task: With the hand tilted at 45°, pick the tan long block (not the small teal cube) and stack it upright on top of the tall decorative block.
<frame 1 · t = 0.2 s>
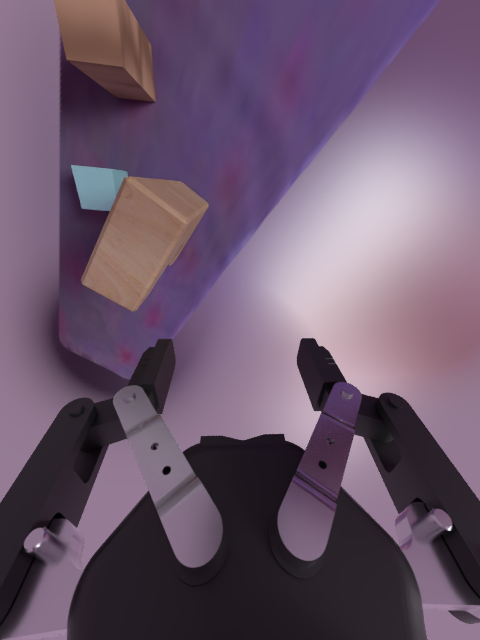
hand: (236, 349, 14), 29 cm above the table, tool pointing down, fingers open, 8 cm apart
decorative block: (177, 222, 37), on the table
teal cube: (113, 189, 34), on the table
tan long block: (132, 72, 28), on the table
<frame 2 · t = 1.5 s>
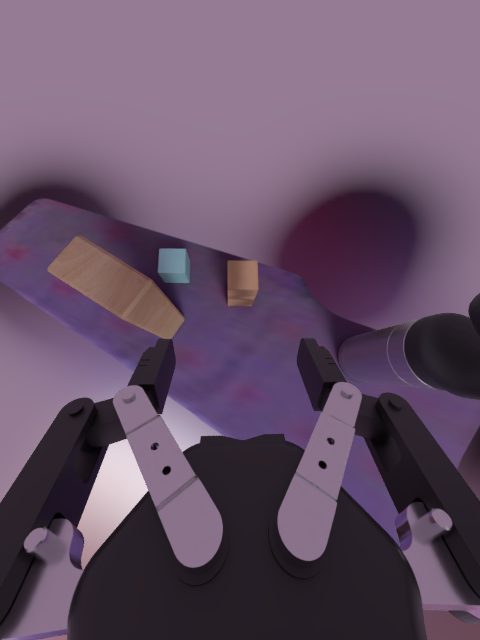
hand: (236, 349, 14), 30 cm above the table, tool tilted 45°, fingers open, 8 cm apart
decorative block: (155, 315, 45), on the table
teal cube: (177, 271, 47), on the table
tan long block: (239, 294, 46), on the table
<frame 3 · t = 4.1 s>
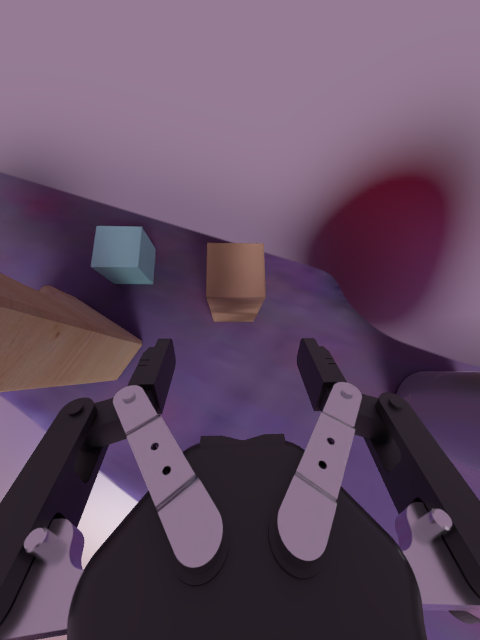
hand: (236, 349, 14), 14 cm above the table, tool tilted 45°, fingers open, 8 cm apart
decorative block: (95, 337, 27), on the table
teal cube: (135, 266, 30), on the table
tan long block: (233, 302, 29), on the table
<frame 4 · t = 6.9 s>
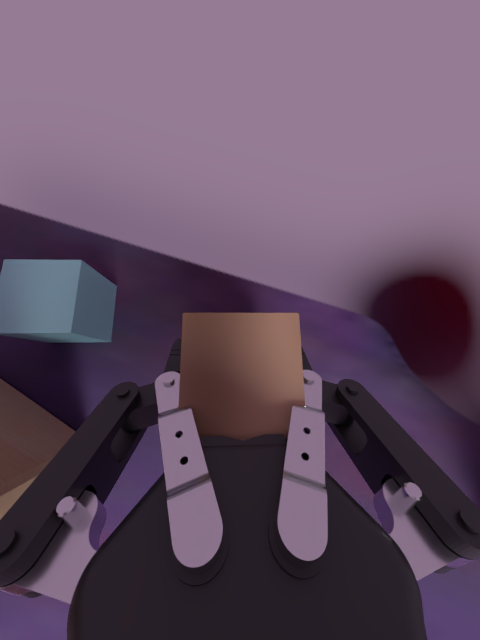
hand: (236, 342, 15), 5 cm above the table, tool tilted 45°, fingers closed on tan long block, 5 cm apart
decorative block: (15, 433, 17), on the table
teal cube: (84, 313, 19), on the table
tan long block: (235, 370, 19), on the table, touching gripper
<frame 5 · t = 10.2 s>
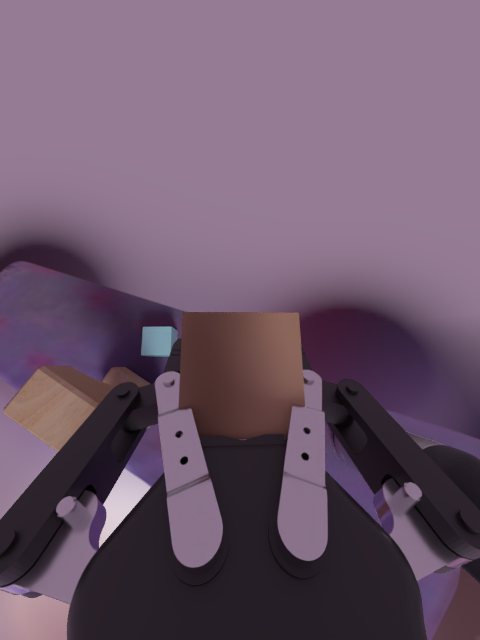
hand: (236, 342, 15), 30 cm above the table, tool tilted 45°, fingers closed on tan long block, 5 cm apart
decorative block: (139, 394, 42), on the table
teal cube: (164, 343, 44), on the table
tan long block: (235, 370, 19), point 25 cm above the table, touching gripper
when the fingers open (27 cm above the table, at t = 13.9 s): tan long block drops 2 cm, resting on decorative block.
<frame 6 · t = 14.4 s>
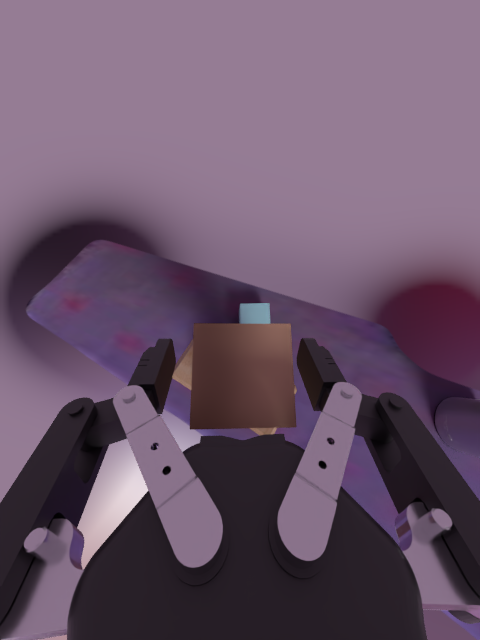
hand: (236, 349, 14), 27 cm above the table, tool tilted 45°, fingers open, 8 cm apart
decorative block: (231, 375, 40), on the table, touching tan long block
teal cube: (252, 323, 42), on the table
tan long block: (236, 371, 21), point 20 cm above the table, touching decorative block
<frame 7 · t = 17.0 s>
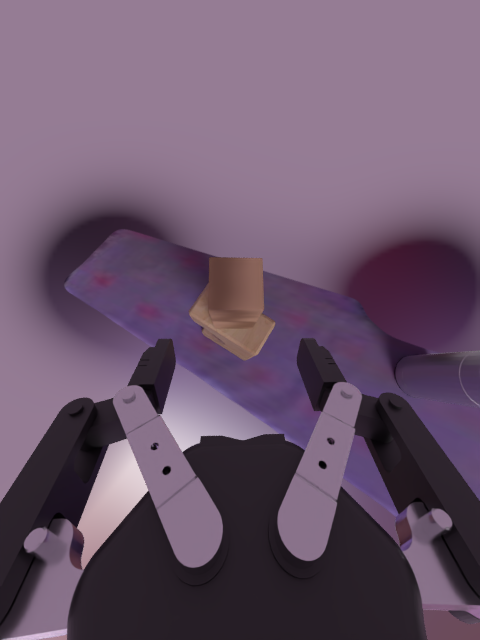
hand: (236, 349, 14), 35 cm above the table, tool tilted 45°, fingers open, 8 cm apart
decorative block: (230, 337, 50), on the table, touching tan long block
tan long block: (233, 310, 30), point 20 cm above the table, touching decorative block
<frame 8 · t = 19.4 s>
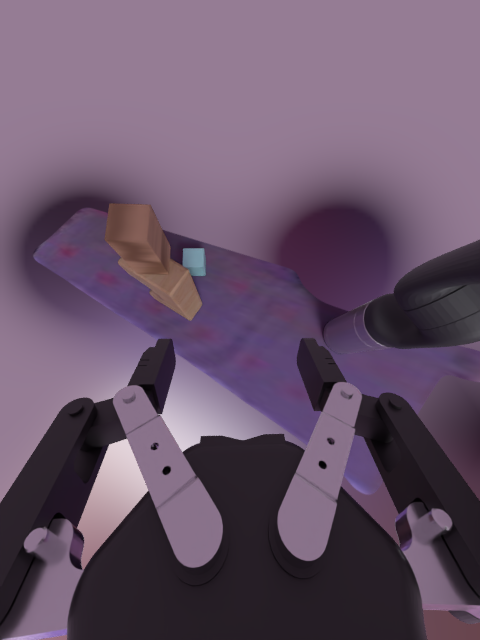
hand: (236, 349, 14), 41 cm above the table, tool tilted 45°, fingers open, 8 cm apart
decorative block: (179, 301, 57), on the table, touching tan long block
teal cube: (196, 267, 59), on the table
tan long block: (154, 260, 37), point 20 cm above the table, touching decorative block
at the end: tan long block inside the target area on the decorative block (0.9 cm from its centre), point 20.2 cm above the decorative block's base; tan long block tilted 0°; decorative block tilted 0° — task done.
